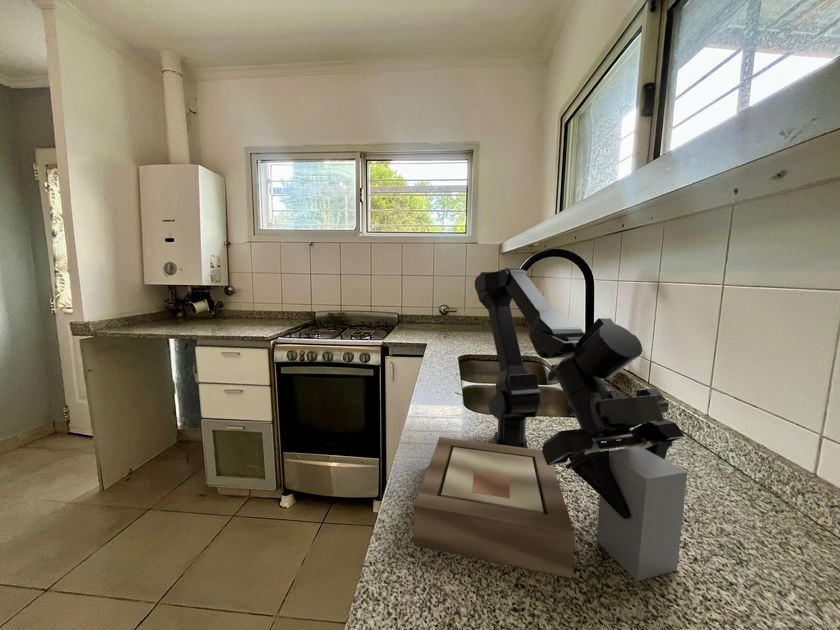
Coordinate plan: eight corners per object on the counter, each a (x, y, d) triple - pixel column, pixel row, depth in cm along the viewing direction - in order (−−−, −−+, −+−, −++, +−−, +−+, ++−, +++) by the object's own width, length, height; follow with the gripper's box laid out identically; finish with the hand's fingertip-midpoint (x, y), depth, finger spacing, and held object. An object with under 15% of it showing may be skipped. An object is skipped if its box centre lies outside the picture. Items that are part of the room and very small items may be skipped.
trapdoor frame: (438, 465, 60) (439, 437, 59) (546, 481, 56) (548, 450, 55) (413, 545, 41) (414, 505, 41) (571, 578, 37) (575, 534, 37)
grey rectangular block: (596, 540, 43) (603, 451, 42) (632, 532, 44) (640, 446, 43) (637, 581, 37) (646, 478, 36) (676, 570, 38) (687, 472, 37)
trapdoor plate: (453, 452, 56) (453, 446, 56) (531, 463, 53) (532, 457, 53) (440, 501, 43) (441, 493, 43) (542, 518, 40) (543, 510, 40)
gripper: (561, 370, 40) (633, 515, 30) (676, 363, 44) (770, 487, 35) (522, 407, 48) (569, 531, 39) (623, 398, 53) (687, 506, 43)
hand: (649, 513), depth 39 cm, fingers closed on grey rectangular block, 6 cm apart
